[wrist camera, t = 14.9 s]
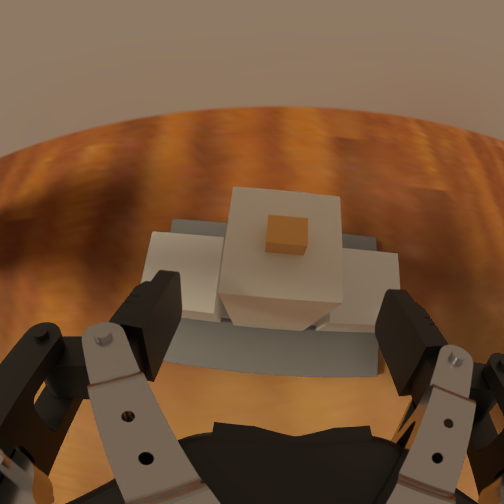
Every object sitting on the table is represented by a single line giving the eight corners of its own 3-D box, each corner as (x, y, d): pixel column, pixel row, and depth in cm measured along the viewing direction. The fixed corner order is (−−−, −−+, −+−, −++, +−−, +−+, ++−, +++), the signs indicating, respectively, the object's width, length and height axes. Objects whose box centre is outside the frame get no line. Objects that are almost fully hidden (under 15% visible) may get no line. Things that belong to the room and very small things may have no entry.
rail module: (233, 325, 21) (214, 286, 10) (241, 260, 22) (231, 173, 12) (302, 331, 20) (350, 297, 10) (305, 266, 22) (345, 184, 12)
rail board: (151, 358, 21) (121, 354, 16) (175, 224, 26) (158, 188, 20) (372, 376, 21) (405, 377, 15) (371, 241, 25) (397, 210, 20)
